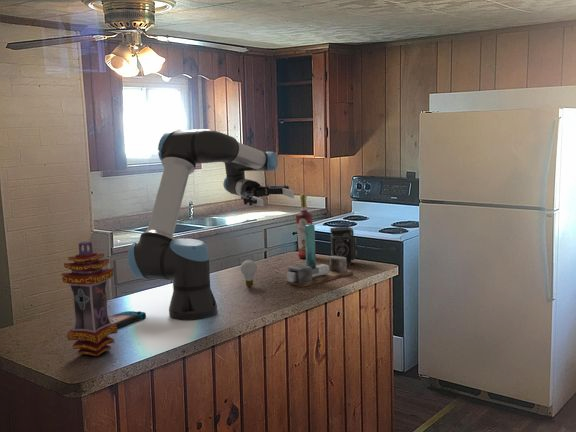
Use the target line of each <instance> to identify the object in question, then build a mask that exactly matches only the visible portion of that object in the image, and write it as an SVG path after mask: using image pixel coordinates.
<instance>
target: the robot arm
mask: <svg viewBox="0 0 576 432" xmlns="http://www.w3.org/2000/svg"><path fill="white" fill-rule="evenodd" d="M157 151H158V152H157V153H158V158H159V160H160V161H161V166H162V167H163V168H164V169H163V171H162V175H161V179H160V182H159V186H158V190H157V193H156V197H155V200H154V205H153V208H152V210H151V211H152V212H151V216H150V219H149V222H148V226H147V229H146V231H143V232H142V233H141V234H140V237H139V240H138V241H135V242H133V243H132V244H131V245H130V246H129V248H128V251H127V264H128V266H129V270H130V271H131V273H132V274H133V275H134V276H135V277H136V278H139V279H145V280H163V281H165V280H166V281H172V289H173V290H172V291H173V292H172V295H171V300H170V302H169V303H170V304H169V307H168V311H169V312H168V315H169V317H170V318H172V319H175V320H180V321H181V320H183V321H184V320H187V321H188V320H189V321H193V320H199V319H200V320H201V319H206V318H209V317H212V316H214V315H216V314H217V313H218V304H217V301H216V299H215V296H214V293H213V291H212V289H211V275H210V254H209V248H208V244H206V243H205V242H204V241H203V240H201V239H200V240H199V239H196V238H174V235H175V230H176V225H177V222H178V218H179V216H180V215H179V214H180V210H181V207H182V202H183V199H184V195H185V191H186V187H187V184H188V179H189V176H190V175H192V174H193V173H194V172H195V170H196V166H197V164H210V163H211V164H212V163H224V167H225V174H226V177H225V178H224V181H223V183H222V184H223V185H222V186H223V188H224V190H225V191H226V192H228V193H229V194H231V195H236V196H238V197H240V199H242V202H243V205H248V204H249V206H250V207H251V206H253V205H256V206H259V207H265V205H264V199H263V198H260V197H269V196H270V195H283V196H285V197H288V198H290V199H293V198H295V191H294V190H292V189H290V187H289V185H285V184H284V185H276V184H275V185H274V184H267V186H264V185H261V183H259V182H258V181H255V180H252V179H248V178H246V175H245V174H246V173H245V172H254V171H257V172H261V171H263V172H264V171H265V172H269V171H276V170H277V167H278V165H279V161H278V159H279V158H278V155H277V153H276V152H275V151H262V150H260V149H257V148H254V147H252V146H249V145H247V144H243V143H241V142H239V141H238V140H237V139H236V138H235V137H234V136H231V135H229V134H226V133H223V132H220V131H216V130H212V129H208V128H207V129H205V128H203V129H201V128H200V129H188V130H187V129H186V130H182V129H174V130H169V131H166V132H165V133H164V134H163V135H162V136H161V137H160V140H159V141H158V146H157Z"/></svg>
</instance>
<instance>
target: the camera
mask: <svg viewBox="0 0 576 432" xmlns="http://www.w3.org/2000/svg"><path fill="white" fill-rule="evenodd" d="M329 231H330V256H340V257H346V258H347V265H348V266H351V265H352V261H355V260H356V258H357V257H358V246H357V238H356V237H355V236H354V235H355V234H354V233H355V232H354V229H353V227H351V226H342V227H341V226H339V227H331V228H330V230H329Z"/></svg>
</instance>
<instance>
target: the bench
mask: <svg viewBox="0 0 576 432" xmlns="http://www.w3.org/2000/svg"><path fill="white" fill-rule="evenodd" d="M328 257H329V258H328V260H329V262H328V263H329V264H328V265H329V273H328V274H324V275H320V276H316V277H312V267H310V266H306V265H305V264H296V265H292V266H288V267H287V272H290V271H298V281H296V282H290V281H287V279H286V284H290V285H294V286H298V287H301V288H303V287H307V286H311V285H315V284H319V283H323V282H327V281H330V280H335V279H338V278H343V277H347V276H349V275H353V274H354V273H353V272H354V271H353V270H348V264H347V258H346V257H340V256H331V255H330V256H328Z"/></svg>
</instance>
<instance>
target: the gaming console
mask: <svg viewBox="0 0 576 432" xmlns="http://www.w3.org/2000/svg"><path fill="white" fill-rule="evenodd" d="M108 317H109V320H110V322H111V323H112V324H116V325H117V329H118V328H120V327H123V326H126V325H129V324H131V323H134V322H137V321H139V320H145V319H146V318H147V313H146V312H144V311H141V310H140V311H131V310H129V311H128V310H126V311H122V312H119V313H116V314H113V315H110V316H109V315H108Z"/></svg>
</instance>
